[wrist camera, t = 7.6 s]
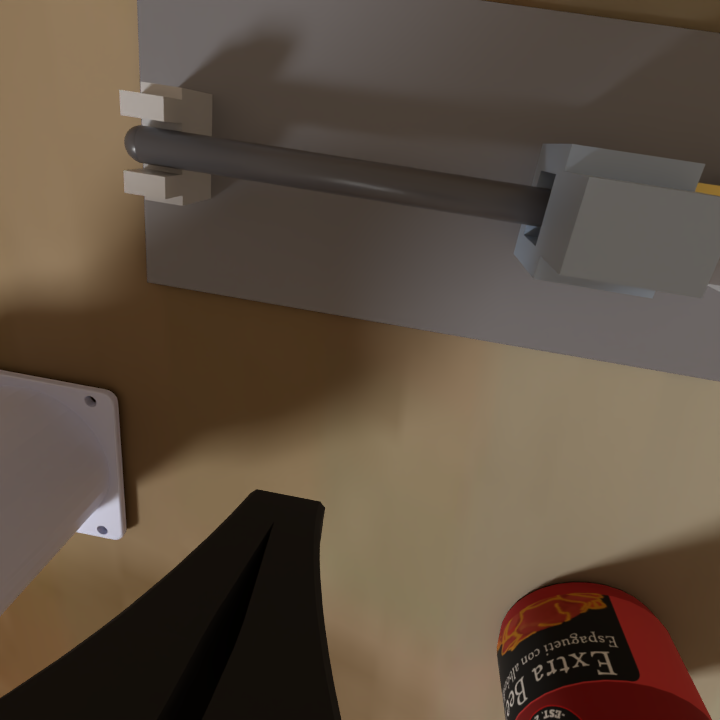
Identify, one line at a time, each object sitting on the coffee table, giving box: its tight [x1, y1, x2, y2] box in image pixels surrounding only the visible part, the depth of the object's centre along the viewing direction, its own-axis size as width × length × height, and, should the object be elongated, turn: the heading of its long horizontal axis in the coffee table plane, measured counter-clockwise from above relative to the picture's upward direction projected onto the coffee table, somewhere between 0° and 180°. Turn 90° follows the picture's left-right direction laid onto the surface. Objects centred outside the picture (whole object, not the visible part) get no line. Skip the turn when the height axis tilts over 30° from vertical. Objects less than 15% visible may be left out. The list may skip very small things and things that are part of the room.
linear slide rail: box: [119, 0, 720, 381], centre depth 15 cm, size 21×10×4 cm, turn 82°
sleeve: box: [514, 144, 720, 299], centre depth 13 cm, size 3×3×5 cm
